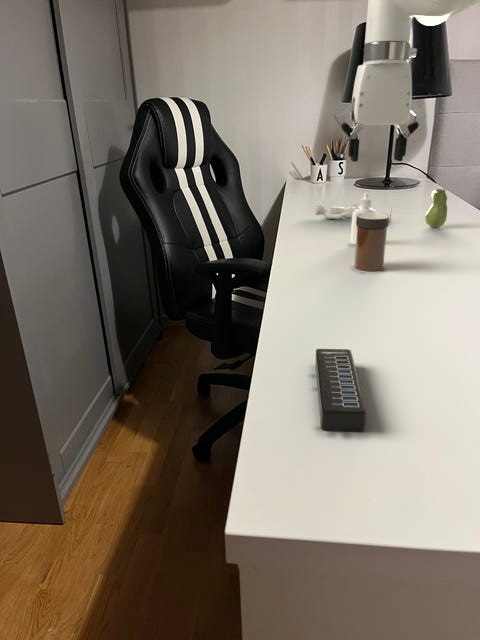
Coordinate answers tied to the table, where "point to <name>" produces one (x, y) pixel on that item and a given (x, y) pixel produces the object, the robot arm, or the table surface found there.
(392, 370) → the table surface
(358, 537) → the table surface
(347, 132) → the robot arm
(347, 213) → the male figure
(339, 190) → the table surface
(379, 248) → the jar
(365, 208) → the eye dropper bottle
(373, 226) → the lid
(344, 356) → the multiport hub
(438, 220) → the pear
